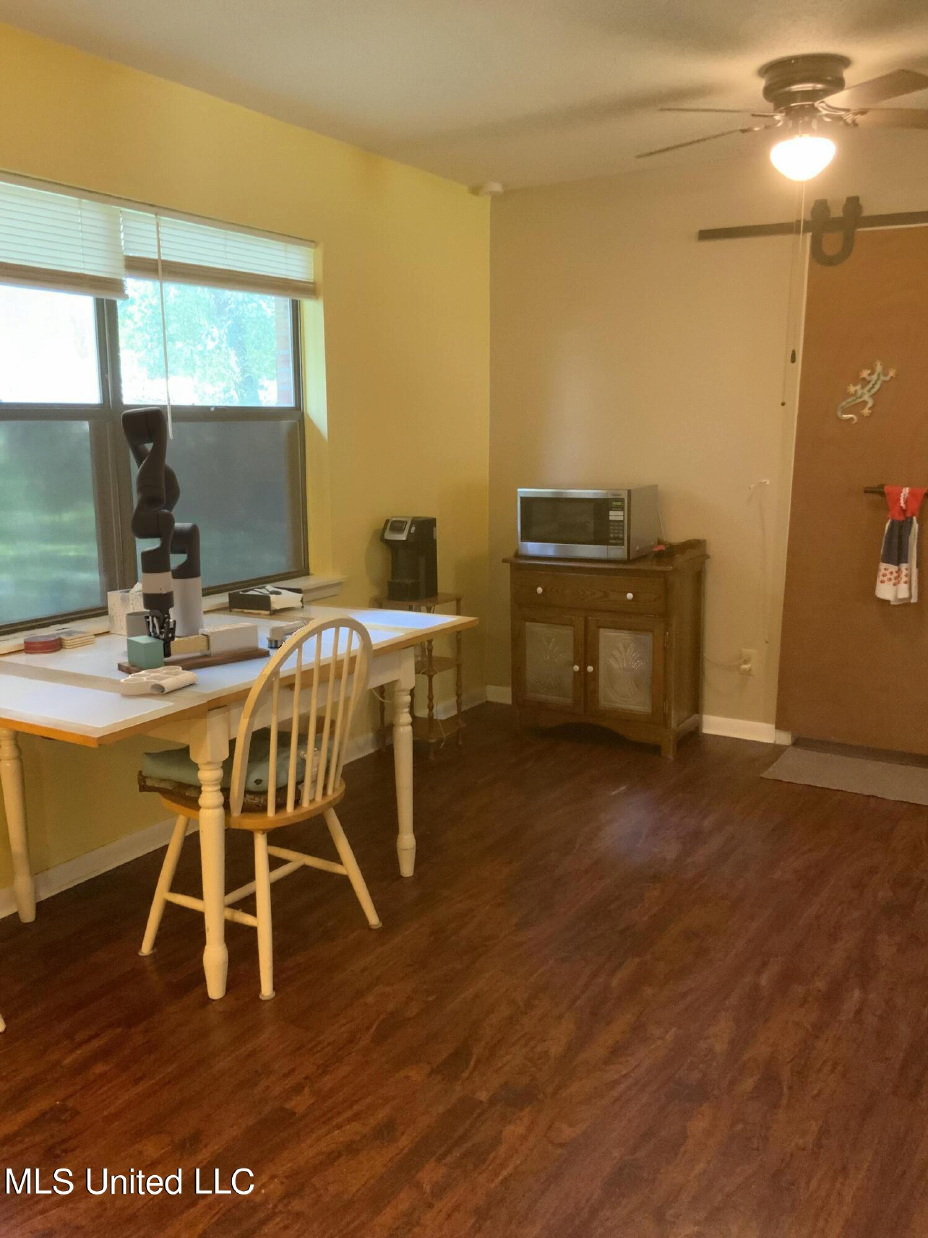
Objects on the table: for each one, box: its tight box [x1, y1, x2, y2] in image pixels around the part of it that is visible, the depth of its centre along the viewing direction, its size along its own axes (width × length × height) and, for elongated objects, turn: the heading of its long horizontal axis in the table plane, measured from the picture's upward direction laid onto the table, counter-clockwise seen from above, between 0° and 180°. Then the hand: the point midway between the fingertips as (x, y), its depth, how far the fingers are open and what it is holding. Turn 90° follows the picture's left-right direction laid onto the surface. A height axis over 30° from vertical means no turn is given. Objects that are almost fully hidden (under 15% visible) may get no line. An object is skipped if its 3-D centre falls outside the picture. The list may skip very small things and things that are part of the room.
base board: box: [117, 646, 271, 675], centre depth 269 cm, size 14×36×2 cm, turn 131°
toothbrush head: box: [266, 619, 310, 648], centre depth 296 cm, size 5×7×25 cm
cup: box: [125, 610, 152, 639], centre depth 287 cm, size 8×8×10 cm
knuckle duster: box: [119, 666, 199, 696], centre depth 243 cm, size 3×18×15 cm
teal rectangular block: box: [126, 635, 164, 669], centre depth 259 cm, size 10×5×6 cm, turn 41°
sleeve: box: [199, 621, 260, 656], centre depth 274 cm, size 6×14×6 cm, turn 131°
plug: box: [170, 634, 209, 655], centre depth 266 cm, size 4×22×4 cm, turn 131°
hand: (162, 655), depth 262 cm, fingers closed on plug, 3 cm apart
